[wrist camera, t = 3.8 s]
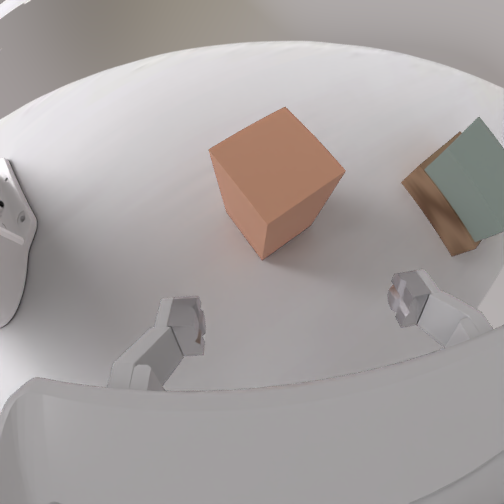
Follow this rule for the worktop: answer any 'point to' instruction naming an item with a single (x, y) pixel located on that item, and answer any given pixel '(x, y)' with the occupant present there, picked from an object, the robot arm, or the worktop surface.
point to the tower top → (473, 180)
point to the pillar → (274, 179)
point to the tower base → (439, 207)
